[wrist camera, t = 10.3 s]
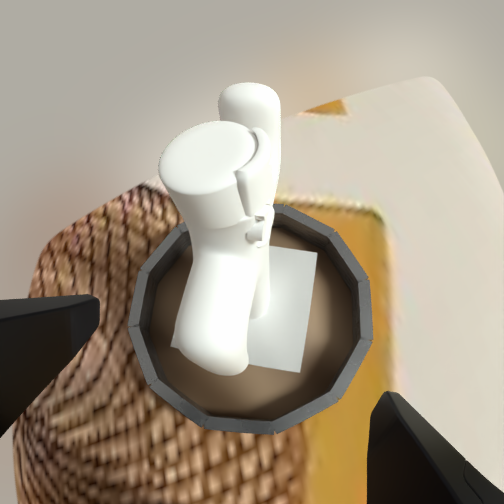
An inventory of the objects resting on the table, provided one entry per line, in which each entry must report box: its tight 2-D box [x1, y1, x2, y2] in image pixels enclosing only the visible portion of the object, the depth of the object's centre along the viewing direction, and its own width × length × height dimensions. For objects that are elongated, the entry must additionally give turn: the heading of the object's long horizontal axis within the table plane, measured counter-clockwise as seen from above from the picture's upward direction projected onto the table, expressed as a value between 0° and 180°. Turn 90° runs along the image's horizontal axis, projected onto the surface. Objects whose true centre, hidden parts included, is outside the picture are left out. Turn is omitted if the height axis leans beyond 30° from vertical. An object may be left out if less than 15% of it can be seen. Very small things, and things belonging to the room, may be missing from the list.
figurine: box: [158, 83, 317, 376], centre depth 14 cm, size 7×9×15 cm
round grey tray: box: [128, 204, 373, 435], centre depth 20 cm, size 16×16×2 cm
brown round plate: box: [149, 228, 353, 431], centre depth 21 cm, size 16×16×1 cm
